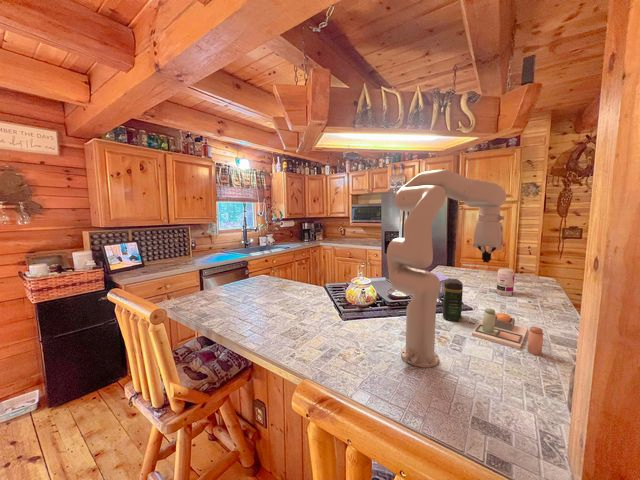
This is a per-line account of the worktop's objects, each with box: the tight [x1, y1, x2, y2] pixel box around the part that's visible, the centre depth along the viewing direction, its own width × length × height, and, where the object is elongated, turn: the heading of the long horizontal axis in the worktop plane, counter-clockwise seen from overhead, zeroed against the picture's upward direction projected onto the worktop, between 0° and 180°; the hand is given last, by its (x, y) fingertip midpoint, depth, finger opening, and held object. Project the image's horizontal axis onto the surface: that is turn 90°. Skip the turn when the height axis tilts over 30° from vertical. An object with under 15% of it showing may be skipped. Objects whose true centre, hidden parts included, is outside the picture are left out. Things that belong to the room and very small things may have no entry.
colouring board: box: [471, 313, 529, 350], centre depth 110 cm, size 20×16×4 cm
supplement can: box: [495, 267, 516, 297], centre depth 156 cm, size 8×8×15 cm
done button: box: [496, 312, 512, 323], centre depth 113 cm, size 5×5×4 cm
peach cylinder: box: [527, 326, 544, 356], centre depth 95 cm, size 4×4×9 cm
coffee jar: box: [442, 277, 464, 322], centre depth 125 cm, size 10×8×19 cm
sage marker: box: [482, 308, 497, 333], centre depth 109 cm, size 4×4×9 cm
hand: (486, 261), depth 112 cm, fingers closed
